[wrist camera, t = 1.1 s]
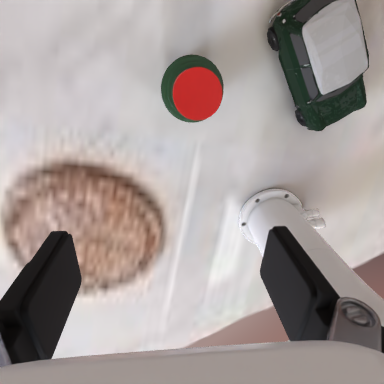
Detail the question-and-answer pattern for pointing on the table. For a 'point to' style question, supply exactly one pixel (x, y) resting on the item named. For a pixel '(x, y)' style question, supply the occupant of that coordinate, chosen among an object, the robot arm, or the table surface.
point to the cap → (197, 93)
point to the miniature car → (321, 58)
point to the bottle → (172, 74)
